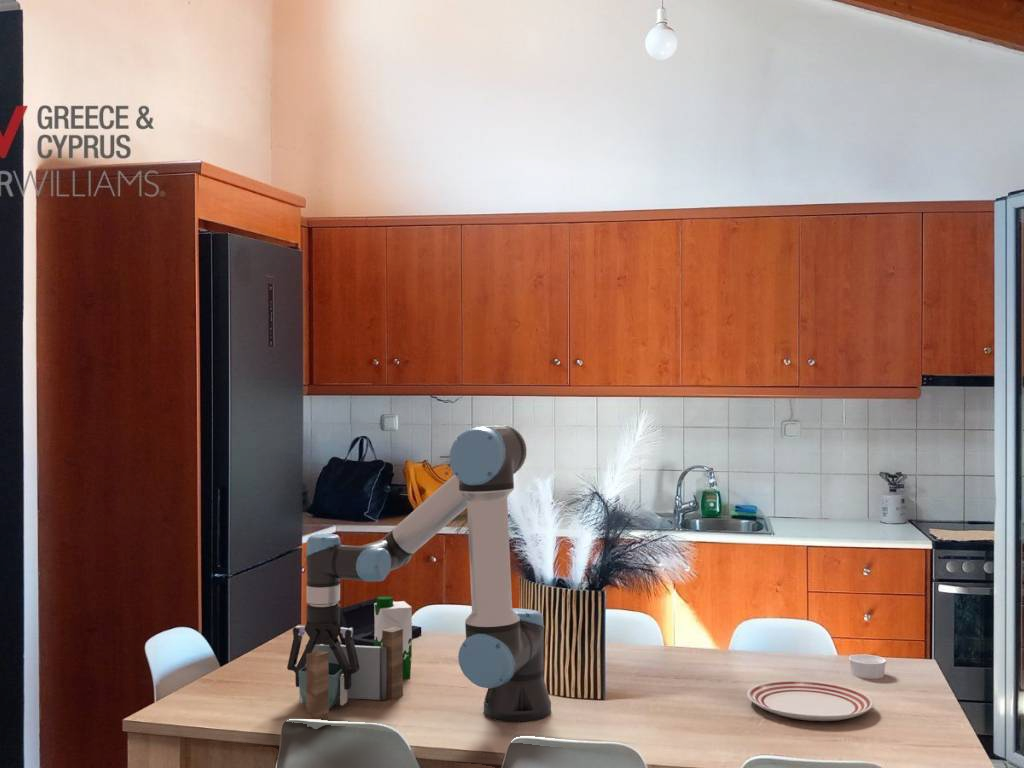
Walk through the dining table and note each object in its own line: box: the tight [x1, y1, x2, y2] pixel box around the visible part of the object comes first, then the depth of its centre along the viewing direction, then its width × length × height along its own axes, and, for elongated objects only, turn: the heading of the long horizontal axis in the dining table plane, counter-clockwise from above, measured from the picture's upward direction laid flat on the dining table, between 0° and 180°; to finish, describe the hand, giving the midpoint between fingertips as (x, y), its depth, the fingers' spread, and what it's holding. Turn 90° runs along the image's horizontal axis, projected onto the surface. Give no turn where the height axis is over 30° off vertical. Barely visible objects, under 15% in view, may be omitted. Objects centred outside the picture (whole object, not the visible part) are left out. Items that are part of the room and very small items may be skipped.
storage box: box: [338, 597, 422, 646], centre depth 288 cm, size 21×16×10 cm
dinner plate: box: [746, 679, 874, 722], centre depth 227 cm, size 27×27×3 cm
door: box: [304, 643, 388, 701], centre depth 234 cm, size 20×3×12 cm, turn 81°
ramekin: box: [848, 653, 887, 680], centre depth 253 cm, size 9×9×4 cm
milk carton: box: [374, 595, 413, 680], centre depth 251 cm, size 9×9×20 cm
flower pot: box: [299, 662, 343, 710], centre depth 227 cm, size 9×9×9 cm
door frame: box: [305, 627, 404, 720], centre depth 224 cm, size 3×28×16 cm, turn 146°
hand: (323, 702), depth 227 cm, fingers open, 9 cm apart
